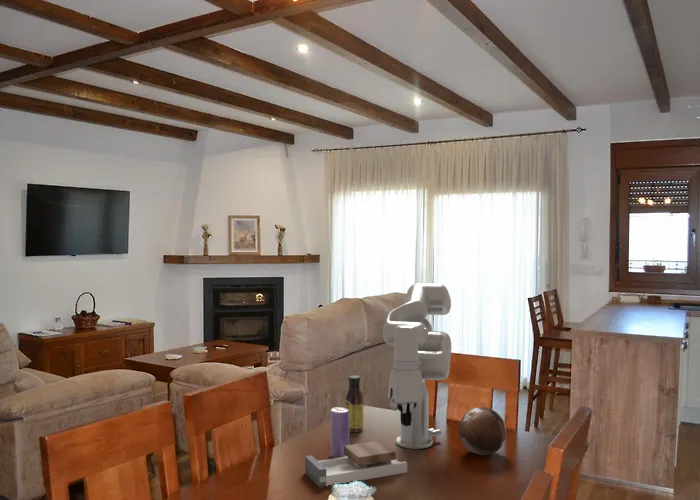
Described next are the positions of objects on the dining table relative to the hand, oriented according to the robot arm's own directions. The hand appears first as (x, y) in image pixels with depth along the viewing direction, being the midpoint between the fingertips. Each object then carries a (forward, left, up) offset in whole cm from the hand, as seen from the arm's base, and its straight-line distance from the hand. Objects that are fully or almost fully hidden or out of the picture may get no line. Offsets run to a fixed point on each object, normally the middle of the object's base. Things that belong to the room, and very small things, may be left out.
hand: (406, 424), depth 193 cm
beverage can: (+16, -15, -13) cm, 25 cm away
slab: (+12, 0, -11) cm, 16 cm away
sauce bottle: (+1, -37, -13) cm, 40 cm away
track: (+17, 0, -13) cm, 21 cm away
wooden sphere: (-27, +2, -13) cm, 30 cm away
